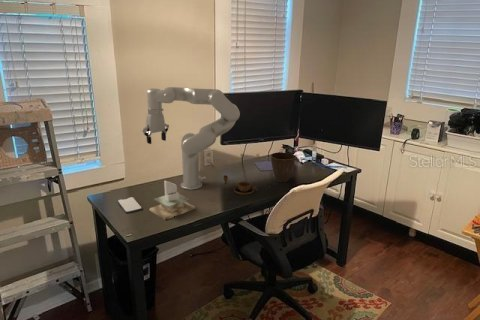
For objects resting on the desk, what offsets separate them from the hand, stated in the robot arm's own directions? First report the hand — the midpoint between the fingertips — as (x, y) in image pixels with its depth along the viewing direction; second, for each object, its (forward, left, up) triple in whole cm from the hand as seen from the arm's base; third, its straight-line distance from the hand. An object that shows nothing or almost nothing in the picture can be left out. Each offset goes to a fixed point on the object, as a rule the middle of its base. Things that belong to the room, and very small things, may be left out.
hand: (156, 141), depth 203 cm
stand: (+11, +30, -27) cm, 42 cm away
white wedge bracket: (+11, +30, -22) cm, 39 cm away
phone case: (+25, +12, -28) cm, 39 cm away
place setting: (-34, +33, -28) cm, 56 cm away
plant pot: (-62, +41, -28) cm, 79 cm away
